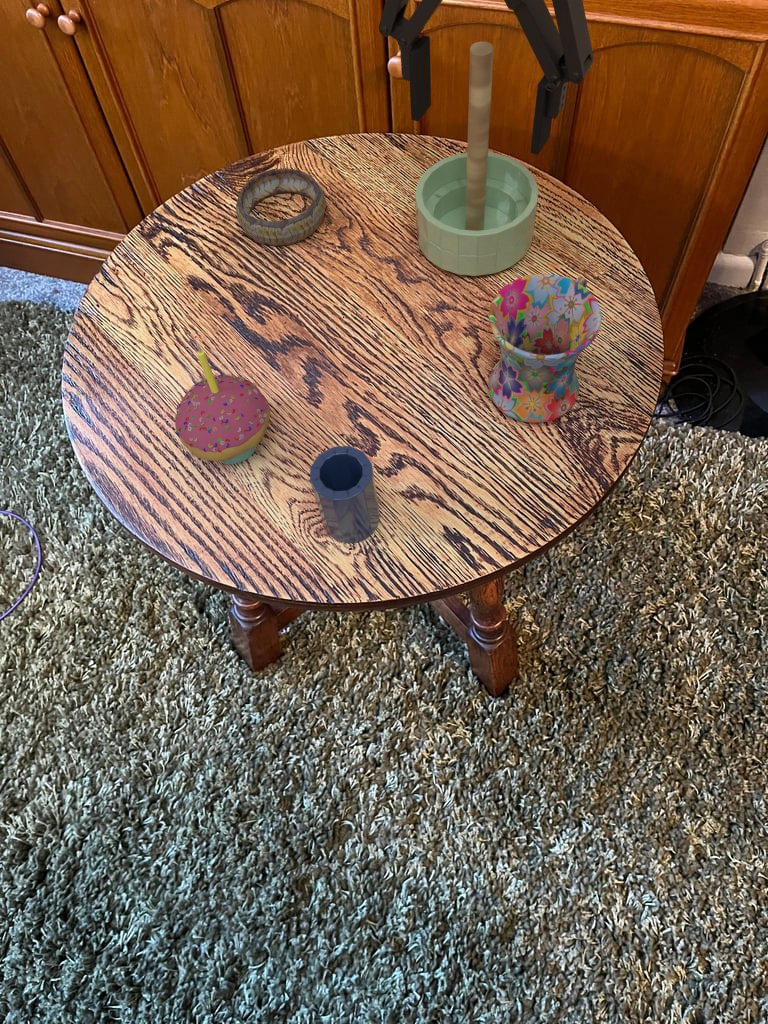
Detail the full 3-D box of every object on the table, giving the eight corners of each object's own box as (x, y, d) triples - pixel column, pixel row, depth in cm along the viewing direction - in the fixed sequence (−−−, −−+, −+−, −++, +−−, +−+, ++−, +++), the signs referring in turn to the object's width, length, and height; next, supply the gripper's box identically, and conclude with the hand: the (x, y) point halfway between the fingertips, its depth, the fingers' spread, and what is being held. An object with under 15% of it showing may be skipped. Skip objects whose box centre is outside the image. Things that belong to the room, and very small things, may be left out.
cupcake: (187, 417, 75) (144, 334, 65) (272, 399, 75) (244, 313, 65) (195, 491, 71) (151, 416, 60) (285, 471, 71) (257, 393, 61)
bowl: (550, 217, 84) (557, 170, 79) (503, 294, 80) (507, 249, 74) (448, 186, 88) (448, 139, 83) (397, 258, 83) (394, 213, 78)
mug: (549, 448, 70) (565, 375, 61) (464, 402, 74) (467, 326, 64) (613, 361, 75) (637, 280, 65) (530, 321, 78) (542, 239, 68)
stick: (486, 229, 83) (497, 44, 66) (478, 241, 83) (487, 57, 65) (470, 224, 84) (476, 39, 66) (462, 236, 83) (466, 52, 66)
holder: (389, 507, 69) (383, 459, 62) (362, 552, 67) (352, 509, 60) (341, 485, 70) (329, 437, 63) (313, 529, 68) (298, 484, 61)
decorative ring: (222, 219, 88) (275, 264, 84) (214, 196, 85) (269, 241, 81) (291, 175, 91) (345, 216, 87) (286, 151, 88) (342, 192, 84)
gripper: (315, -159, 55) (349, 120, 74) (639, -104, 48) (585, 188, 67) (366, -205, 58) (386, 76, 77) (678, -159, 51) (615, 136, 70)
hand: (479, 128), depth 72 cm, fingers open, 11 cm apart
